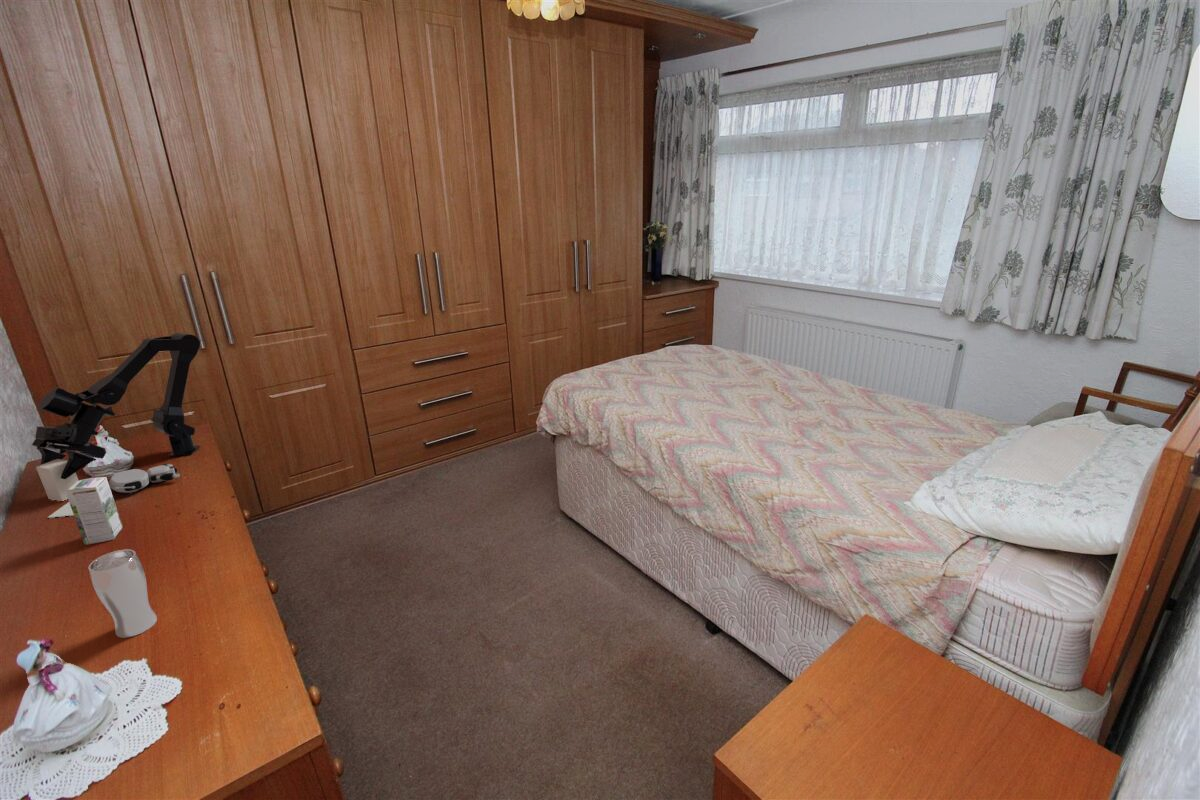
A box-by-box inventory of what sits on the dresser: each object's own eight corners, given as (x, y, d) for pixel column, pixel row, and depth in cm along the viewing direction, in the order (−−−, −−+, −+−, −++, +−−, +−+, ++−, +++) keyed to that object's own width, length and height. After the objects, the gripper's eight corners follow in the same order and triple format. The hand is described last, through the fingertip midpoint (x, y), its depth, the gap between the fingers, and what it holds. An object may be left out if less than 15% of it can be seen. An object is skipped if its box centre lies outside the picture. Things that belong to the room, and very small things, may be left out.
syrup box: (94, 532, 131) (74, 480, 126) (124, 527, 134) (106, 475, 129) (84, 545, 126) (63, 491, 122) (115, 539, 129) (96, 486, 124)
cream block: (69, 490, 151) (57, 458, 148) (83, 492, 150) (71, 460, 147) (49, 499, 147) (35, 466, 143) (62, 501, 146) (49, 468, 142)
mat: (69, 502, 145) (69, 501, 145) (104, 499, 147) (103, 498, 146) (47, 518, 138) (47, 517, 137) (84, 514, 139) (83, 513, 139)
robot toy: (174, 472, 164) (108, 486, 153) (171, 458, 163) (105, 472, 152) (183, 485, 156) (115, 501, 145) (180, 470, 155) (112, 486, 144)
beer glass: (154, 608, 106) (131, 543, 101) (164, 624, 102) (141, 558, 97) (109, 628, 101) (82, 561, 96) (117, 646, 97) (90, 577, 92)
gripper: (27, 409, 146) (-8, 464, 140) (79, 415, 142) (45, 471, 136) (70, 425, 156) (39, 477, 150) (120, 431, 152) (89, 484, 146)
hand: (52, 477), depth 145 cm, fingers open, 7 cm apart
